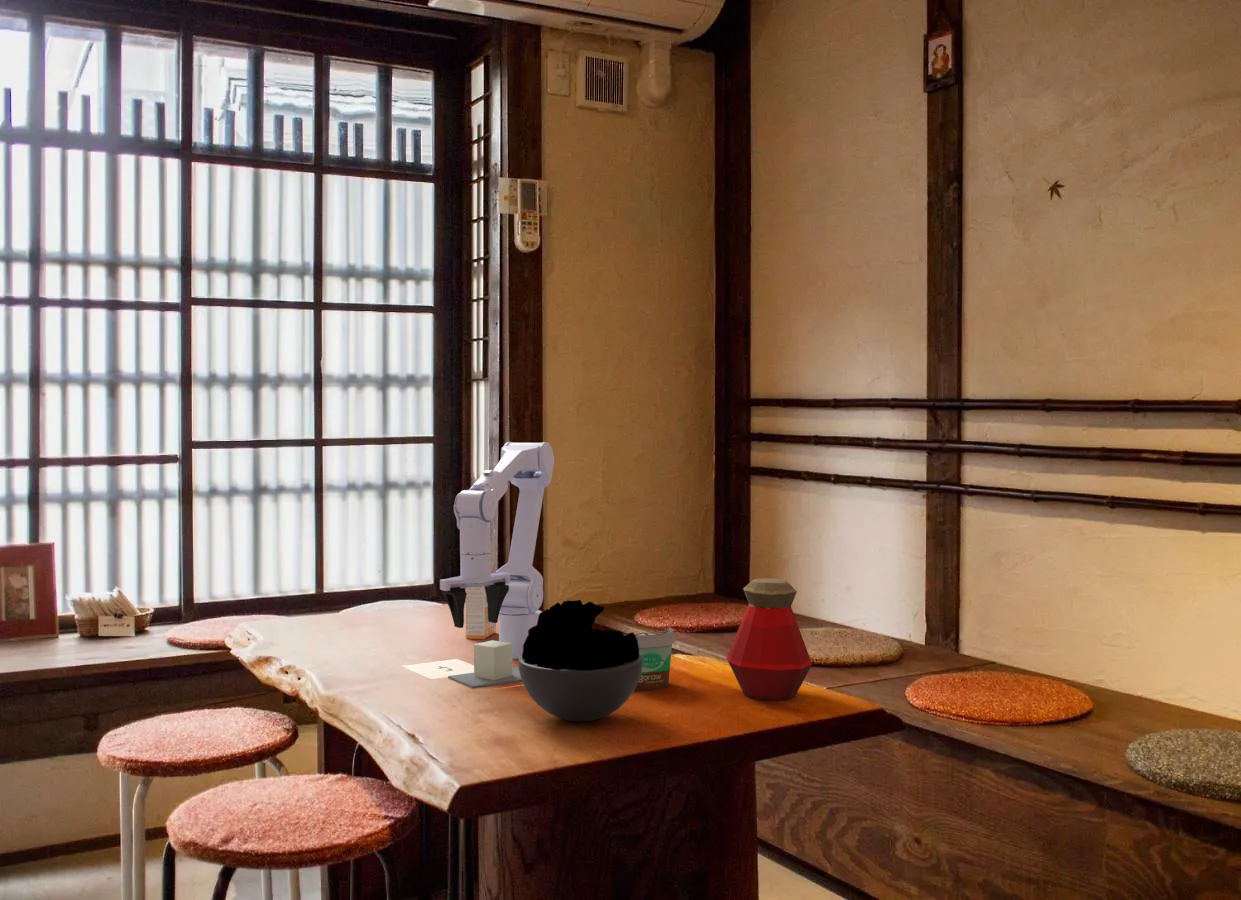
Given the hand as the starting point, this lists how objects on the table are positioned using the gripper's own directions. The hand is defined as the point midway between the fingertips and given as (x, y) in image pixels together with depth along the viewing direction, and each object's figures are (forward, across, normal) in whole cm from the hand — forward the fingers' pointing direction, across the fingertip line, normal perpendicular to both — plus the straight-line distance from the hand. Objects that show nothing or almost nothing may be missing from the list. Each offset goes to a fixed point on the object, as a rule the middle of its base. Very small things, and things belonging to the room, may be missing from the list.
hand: (476, 624), depth 221 cm
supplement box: (+10, -22, -32) cm, 40 cm away
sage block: (+9, 0, +6) cm, 11 cm away
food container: (+10, -17, +30) cm, 36 cm away
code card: (+9, +3, -7) cm, 12 cm away
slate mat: (+9, 0, +6) cm, 11 cm away
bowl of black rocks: (+9, +6, +40) cm, 42 cm away
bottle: (+10, -29, +48) cm, 57 cm away
